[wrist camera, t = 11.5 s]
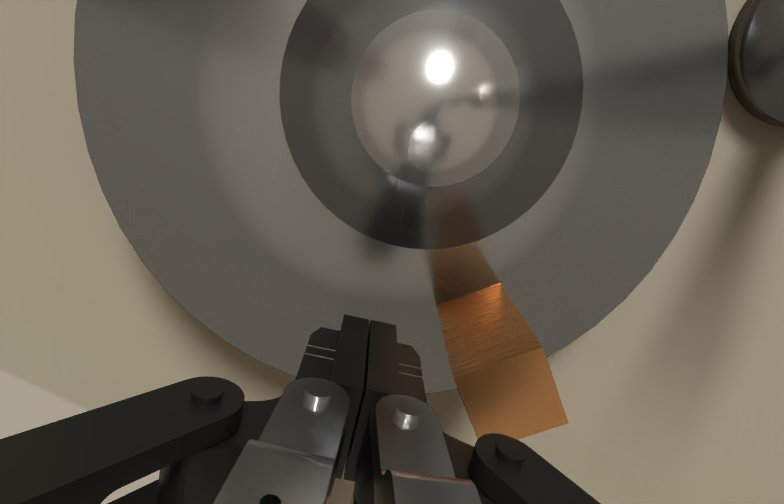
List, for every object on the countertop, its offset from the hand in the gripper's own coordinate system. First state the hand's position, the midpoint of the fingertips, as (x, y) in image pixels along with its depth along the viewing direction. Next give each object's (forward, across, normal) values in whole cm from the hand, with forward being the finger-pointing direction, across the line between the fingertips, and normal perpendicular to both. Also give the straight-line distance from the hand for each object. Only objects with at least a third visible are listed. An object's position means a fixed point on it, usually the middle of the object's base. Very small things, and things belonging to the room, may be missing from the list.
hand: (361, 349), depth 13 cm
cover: (+1, 0, -7) cm, 7 cm away
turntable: (+3, 0, -6) cm, 7 cm away
